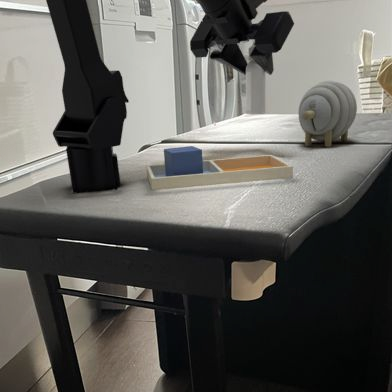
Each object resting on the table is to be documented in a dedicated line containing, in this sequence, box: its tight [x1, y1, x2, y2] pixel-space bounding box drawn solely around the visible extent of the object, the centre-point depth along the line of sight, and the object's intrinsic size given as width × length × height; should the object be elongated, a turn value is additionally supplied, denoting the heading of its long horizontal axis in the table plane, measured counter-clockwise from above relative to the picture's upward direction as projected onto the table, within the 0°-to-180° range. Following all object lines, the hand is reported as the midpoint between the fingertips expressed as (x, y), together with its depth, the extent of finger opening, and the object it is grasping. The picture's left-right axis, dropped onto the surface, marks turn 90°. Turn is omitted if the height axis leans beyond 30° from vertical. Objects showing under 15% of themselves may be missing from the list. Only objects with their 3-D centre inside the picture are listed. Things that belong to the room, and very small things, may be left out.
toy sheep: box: [298, 80, 358, 148], centre depth 104 cm, size 11×17×11 cm, turn 148°
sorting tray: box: [145, 154, 294, 191], centre depth 81 cm, size 20×11×2 cm, turn 99°
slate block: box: [163, 145, 204, 177], centre depth 79 cm, size 4×4×4 cm
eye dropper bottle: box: [245, 41, 266, 116], centre depth 98 cm, size 4×6×12 cm
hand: (260, 73), depth 99 cm, fingers closed on eye dropper bottle, 5 cm apart
